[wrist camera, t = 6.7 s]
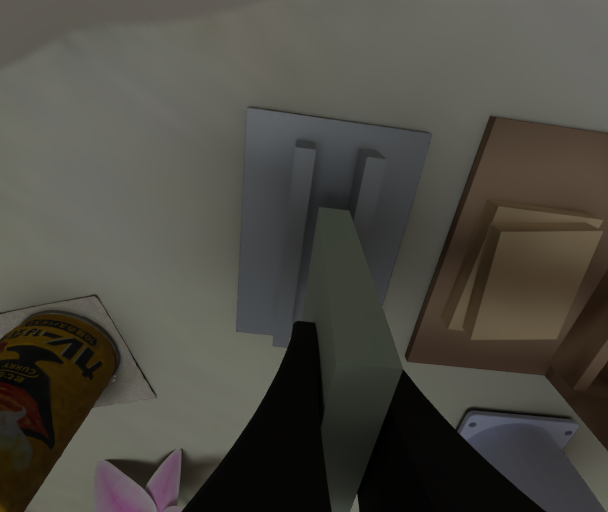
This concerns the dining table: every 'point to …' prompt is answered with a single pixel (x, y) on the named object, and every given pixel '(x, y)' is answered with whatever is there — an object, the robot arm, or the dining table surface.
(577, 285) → the offcut upper
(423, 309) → the rack
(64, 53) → the dining table surface
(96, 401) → the condiment
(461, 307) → the offcut lower
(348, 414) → the sheet
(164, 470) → the lily
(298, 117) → the stand
